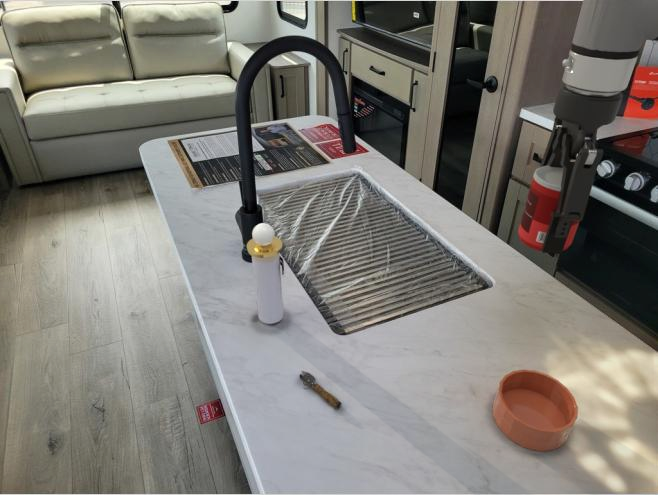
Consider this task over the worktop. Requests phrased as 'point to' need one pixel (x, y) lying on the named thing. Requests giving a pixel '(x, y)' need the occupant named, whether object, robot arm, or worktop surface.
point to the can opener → (319, 389)
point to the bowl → (534, 410)
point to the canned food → (542, 208)
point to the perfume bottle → (267, 272)
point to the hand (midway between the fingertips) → (544, 236)
